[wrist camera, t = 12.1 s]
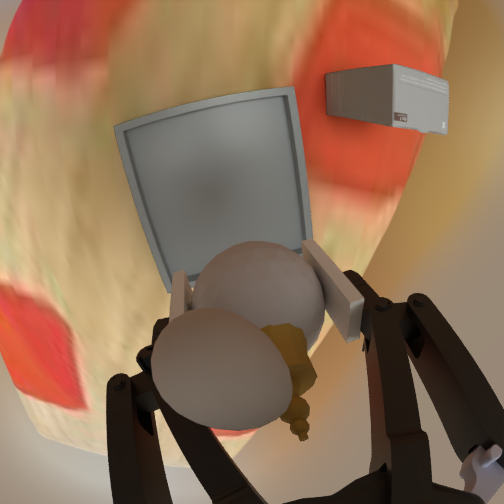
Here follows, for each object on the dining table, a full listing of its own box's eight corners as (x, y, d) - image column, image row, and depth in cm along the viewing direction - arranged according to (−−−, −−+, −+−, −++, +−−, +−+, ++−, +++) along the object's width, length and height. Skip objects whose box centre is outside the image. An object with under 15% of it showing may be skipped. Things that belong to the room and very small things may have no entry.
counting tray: (118, 125, 29) (113, 126, 27) (287, 88, 31) (293, 86, 29) (168, 283, 41) (167, 293, 39) (308, 248, 43) (314, 256, 41)
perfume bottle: (266, 328, 21) (318, 471, 11) (143, 290, 17) (120, 465, 7) (320, 249, 19) (429, 385, 8) (186, 187, 15) (174, 356, 5)
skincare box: (371, 79, 32) (451, 75, 18) (372, 123, 35) (452, 138, 21) (320, 72, 31) (394, 54, 17) (323, 120, 34) (396, 129, 20)
